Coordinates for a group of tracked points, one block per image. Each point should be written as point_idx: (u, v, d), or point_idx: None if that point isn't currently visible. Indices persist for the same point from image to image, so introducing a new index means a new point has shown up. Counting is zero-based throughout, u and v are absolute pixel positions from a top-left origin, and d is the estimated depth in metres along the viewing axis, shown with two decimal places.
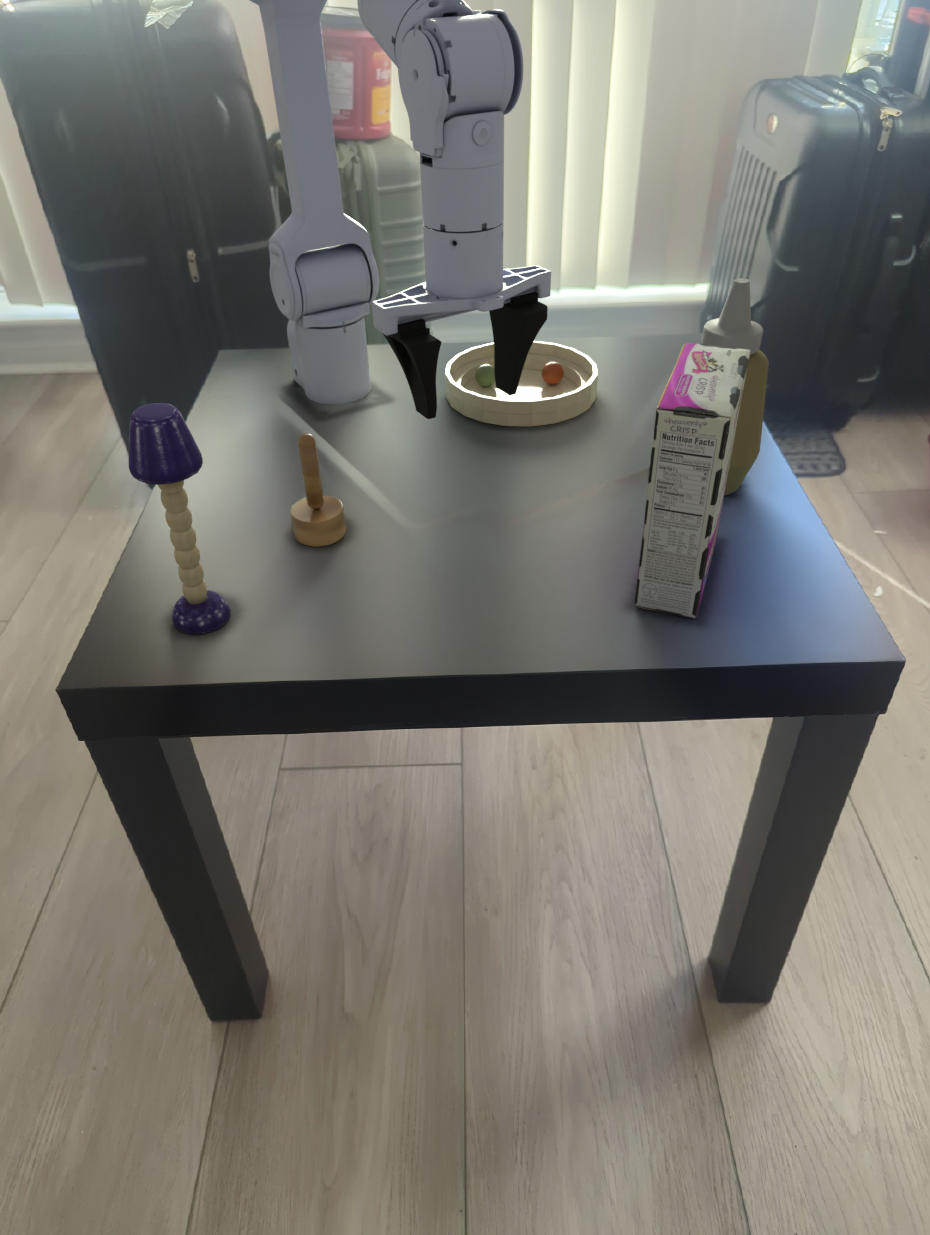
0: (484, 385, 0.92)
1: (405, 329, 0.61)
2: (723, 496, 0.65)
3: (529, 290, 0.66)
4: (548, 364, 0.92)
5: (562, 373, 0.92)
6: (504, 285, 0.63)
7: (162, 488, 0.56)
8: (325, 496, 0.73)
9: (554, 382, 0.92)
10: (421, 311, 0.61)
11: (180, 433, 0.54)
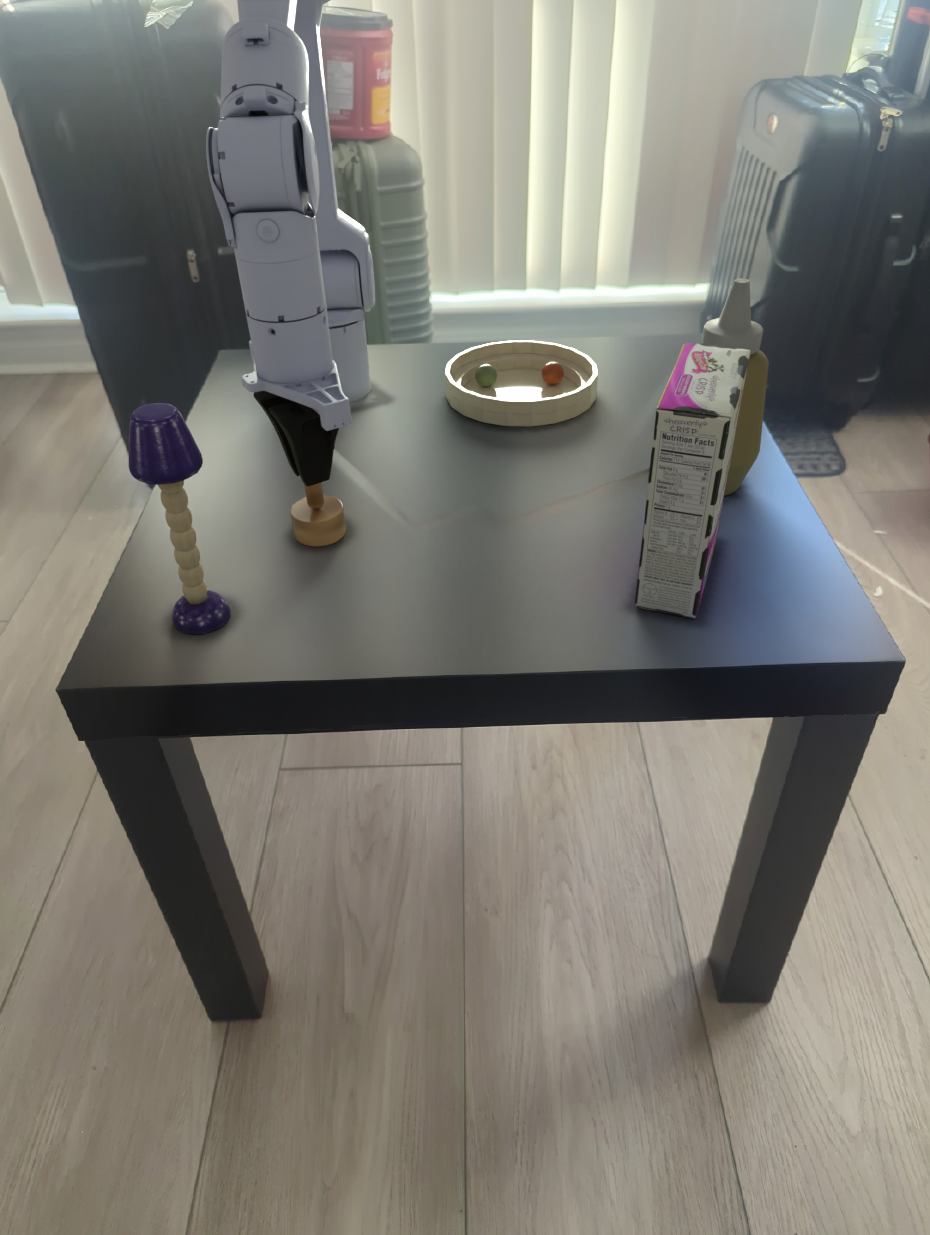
0: (484, 385, 0.92)
1: None
2: (723, 496, 0.65)
3: None
4: (548, 364, 0.92)
5: (562, 373, 0.92)
6: (286, 384, 0.61)
7: (162, 488, 0.56)
8: (325, 496, 0.73)
9: (554, 382, 0.92)
10: None
11: (180, 433, 0.54)
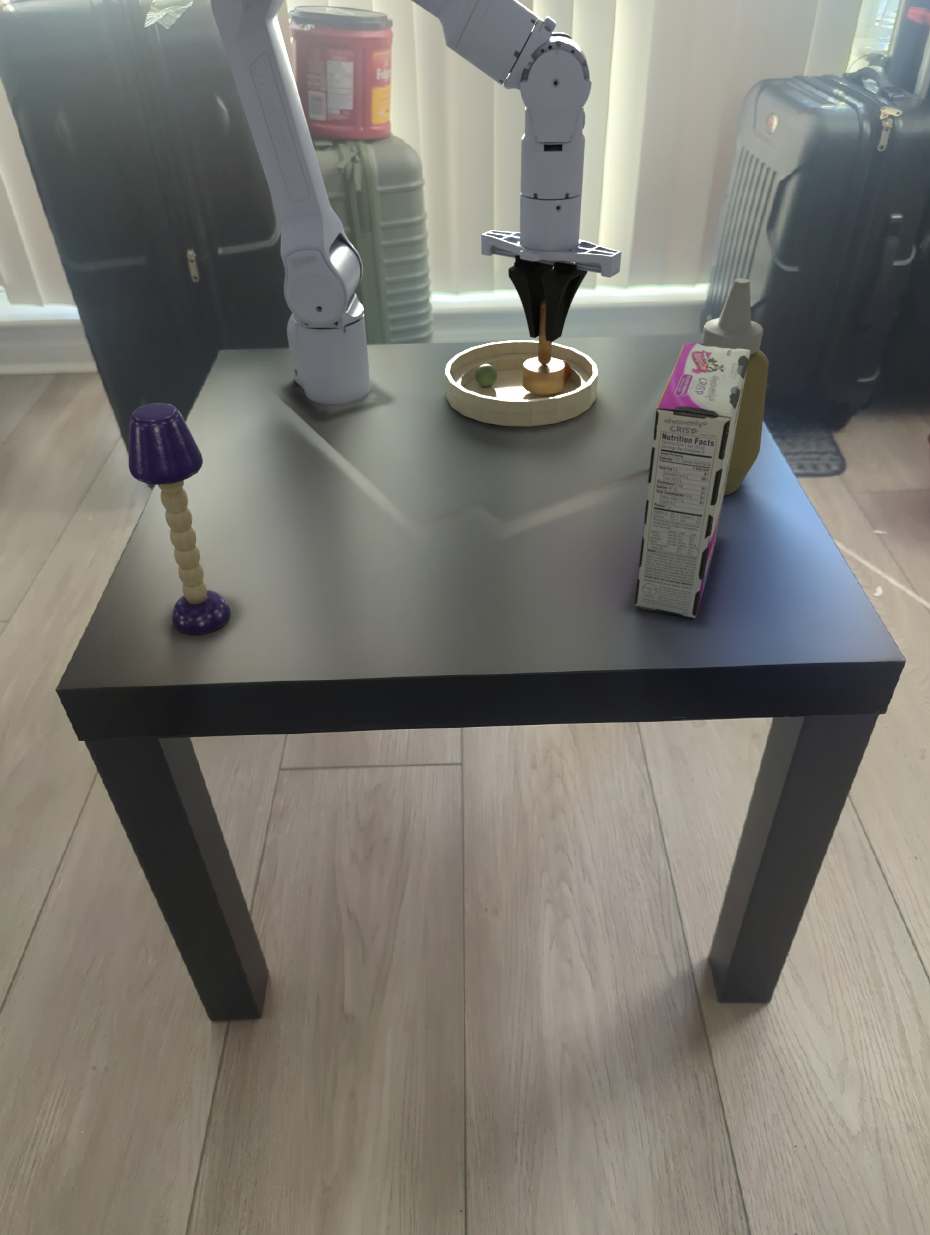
0: (484, 385, 0.92)
1: (520, 260, 0.84)
2: (723, 496, 0.65)
3: (599, 267, 0.80)
4: (562, 360, 0.93)
5: (569, 375, 0.93)
6: (562, 250, 0.80)
7: (162, 488, 0.56)
8: None
9: None
10: (500, 245, 0.84)
11: (180, 433, 0.54)
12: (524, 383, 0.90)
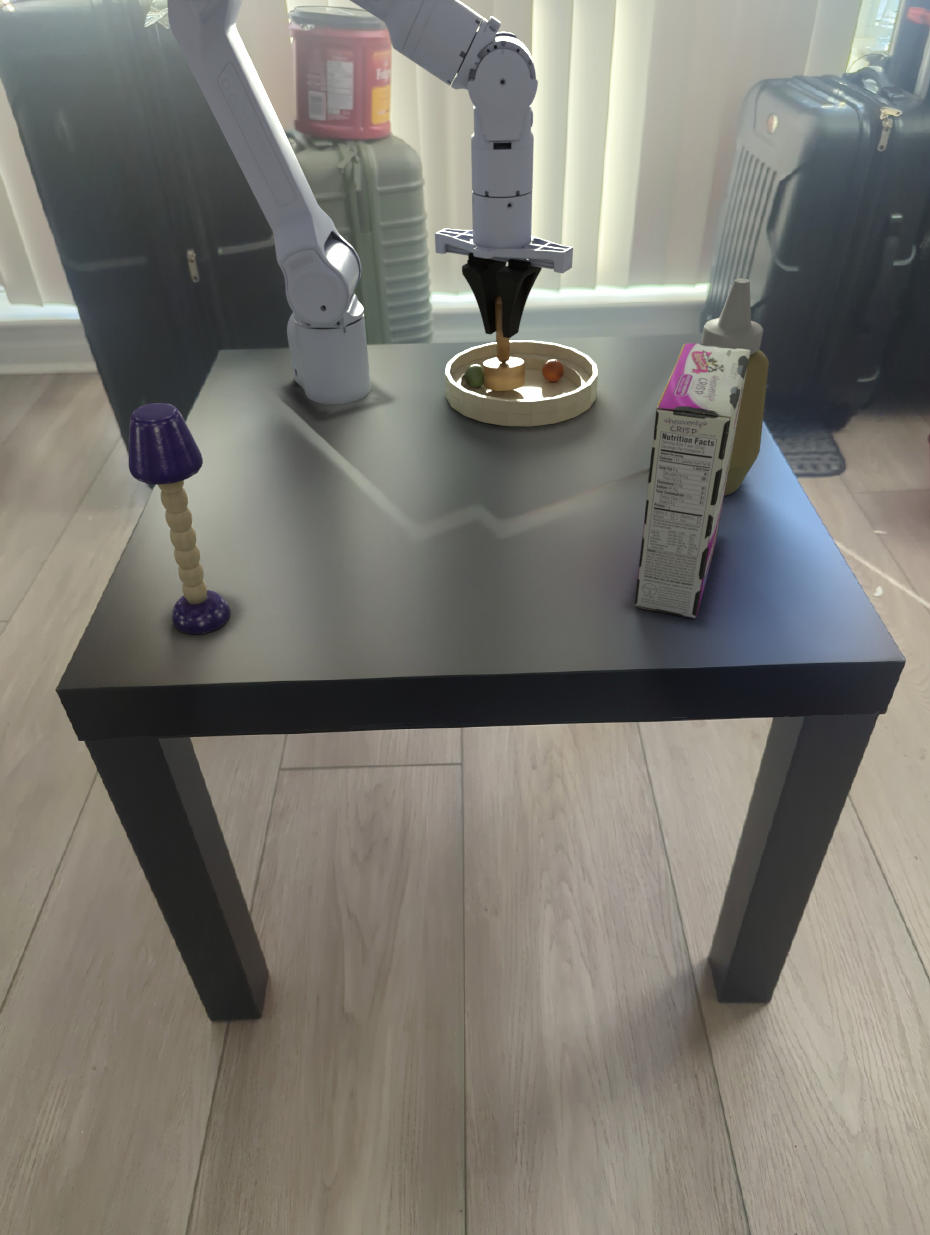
0: (479, 384, 0.92)
1: (473, 257, 0.85)
2: (723, 496, 0.65)
3: (552, 263, 0.81)
4: (551, 360, 0.93)
5: (561, 373, 0.93)
6: (515, 247, 0.81)
7: (162, 488, 0.56)
8: None
9: (550, 377, 0.93)
10: (453, 243, 0.84)
11: (180, 433, 0.54)
12: None
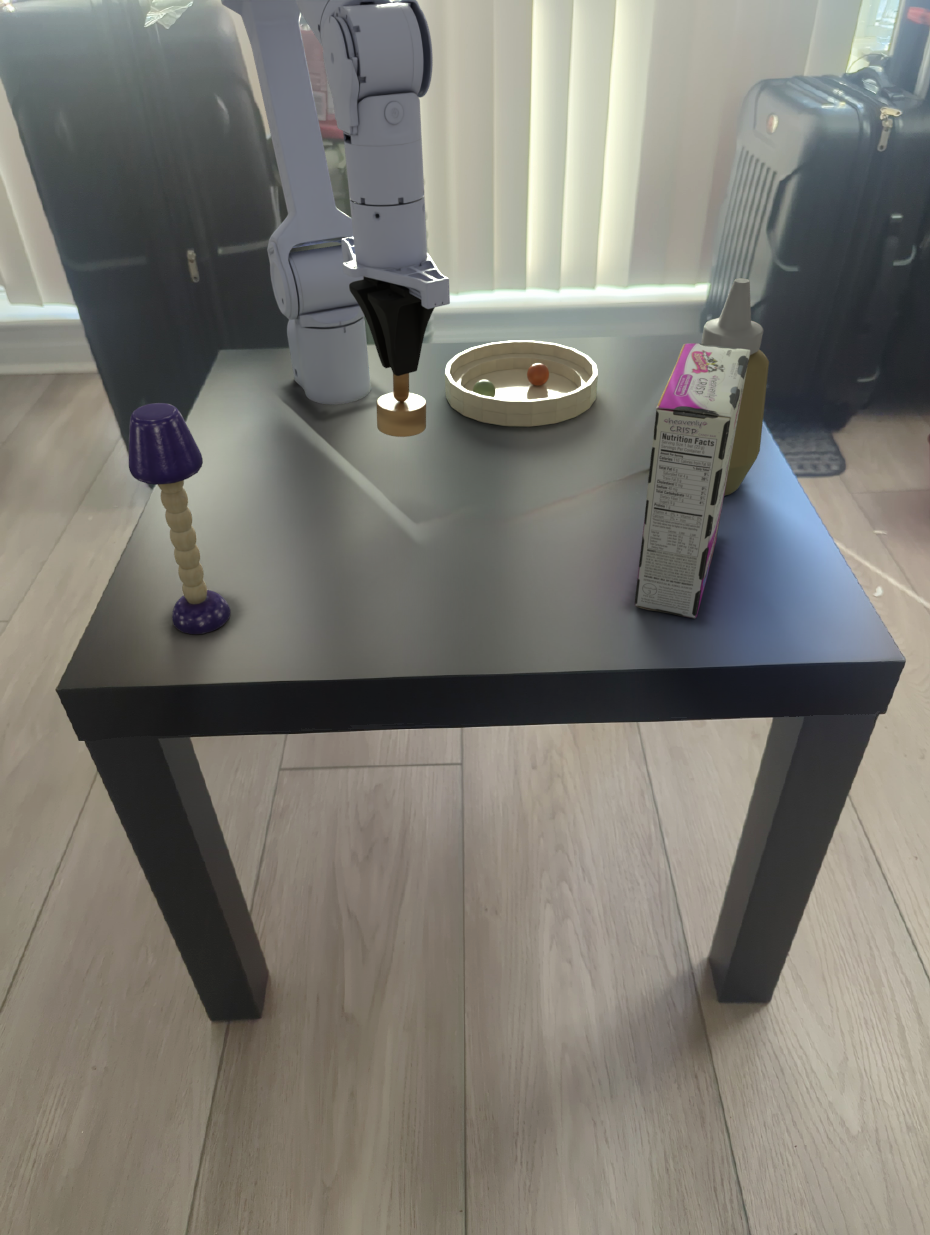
0: None
1: None
2: (723, 496, 0.65)
3: None
4: (528, 377, 0.92)
5: (543, 375, 0.92)
6: (387, 268, 0.66)
7: (162, 488, 0.56)
8: (419, 396, 0.76)
9: (544, 383, 0.93)
10: (349, 254, 0.71)
11: (180, 433, 0.54)
12: None
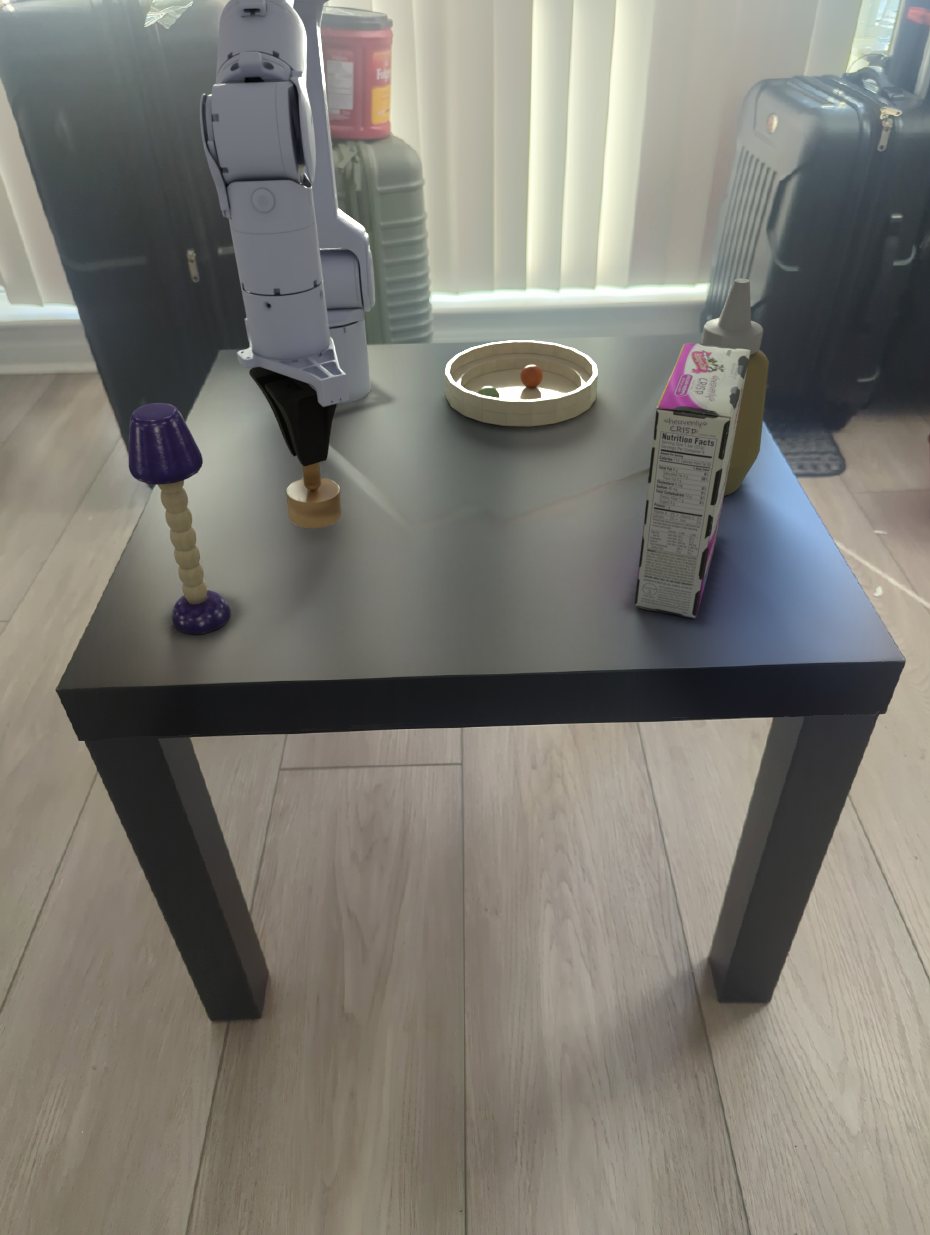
0: (490, 391, 0.87)
1: None
2: (723, 496, 0.65)
3: None
4: (524, 384, 0.93)
5: (535, 378, 0.91)
6: (283, 360, 0.60)
7: (162, 488, 0.56)
8: (333, 483, 0.71)
9: (541, 380, 0.92)
10: None
11: (180, 433, 0.54)
12: None
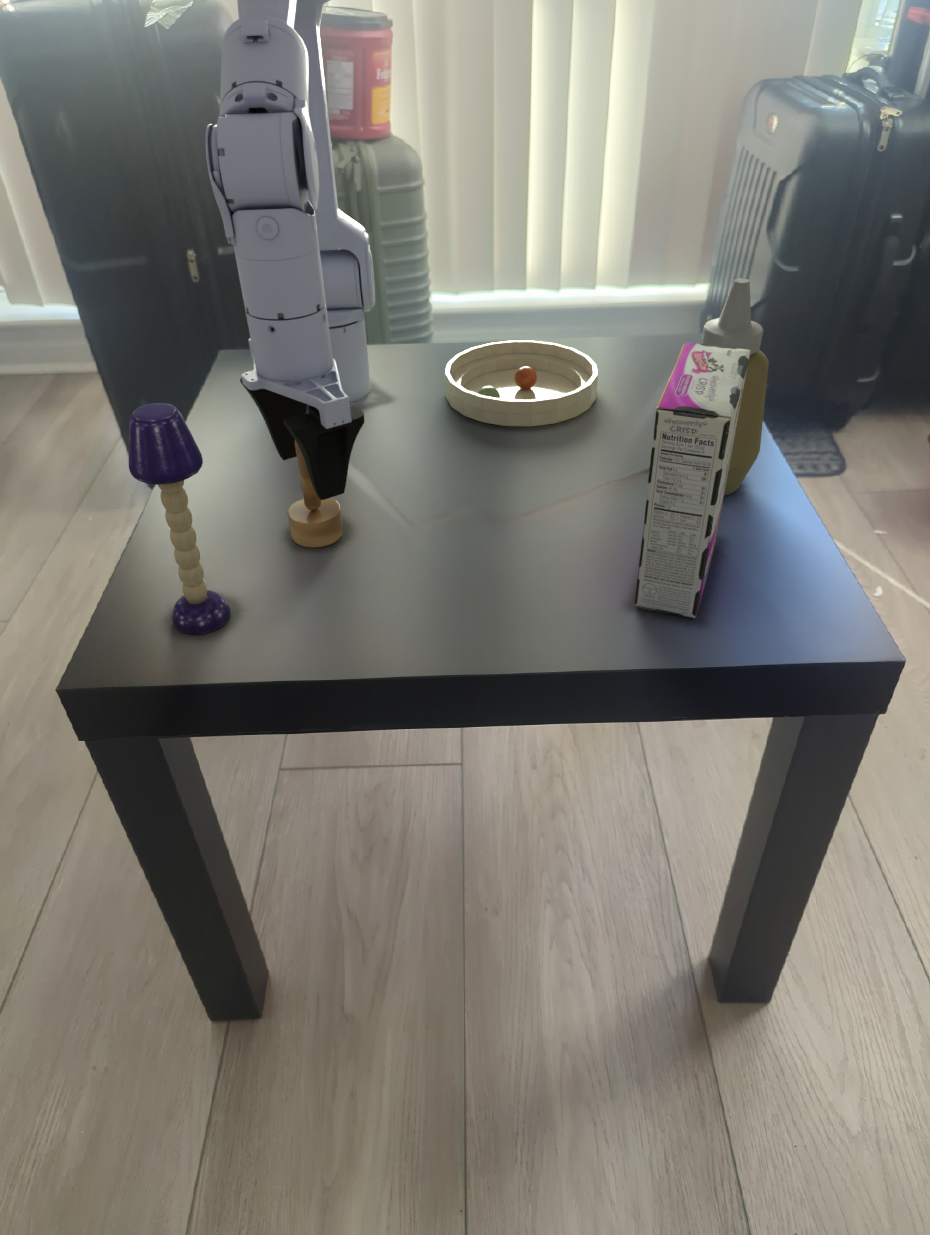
0: (490, 390, 0.87)
1: None
2: (723, 496, 0.65)
3: None
4: None
5: (528, 381, 0.91)
6: (286, 382, 0.61)
7: (162, 488, 0.56)
8: (334, 501, 0.72)
9: (536, 376, 0.92)
10: None
11: (180, 433, 0.54)
12: None
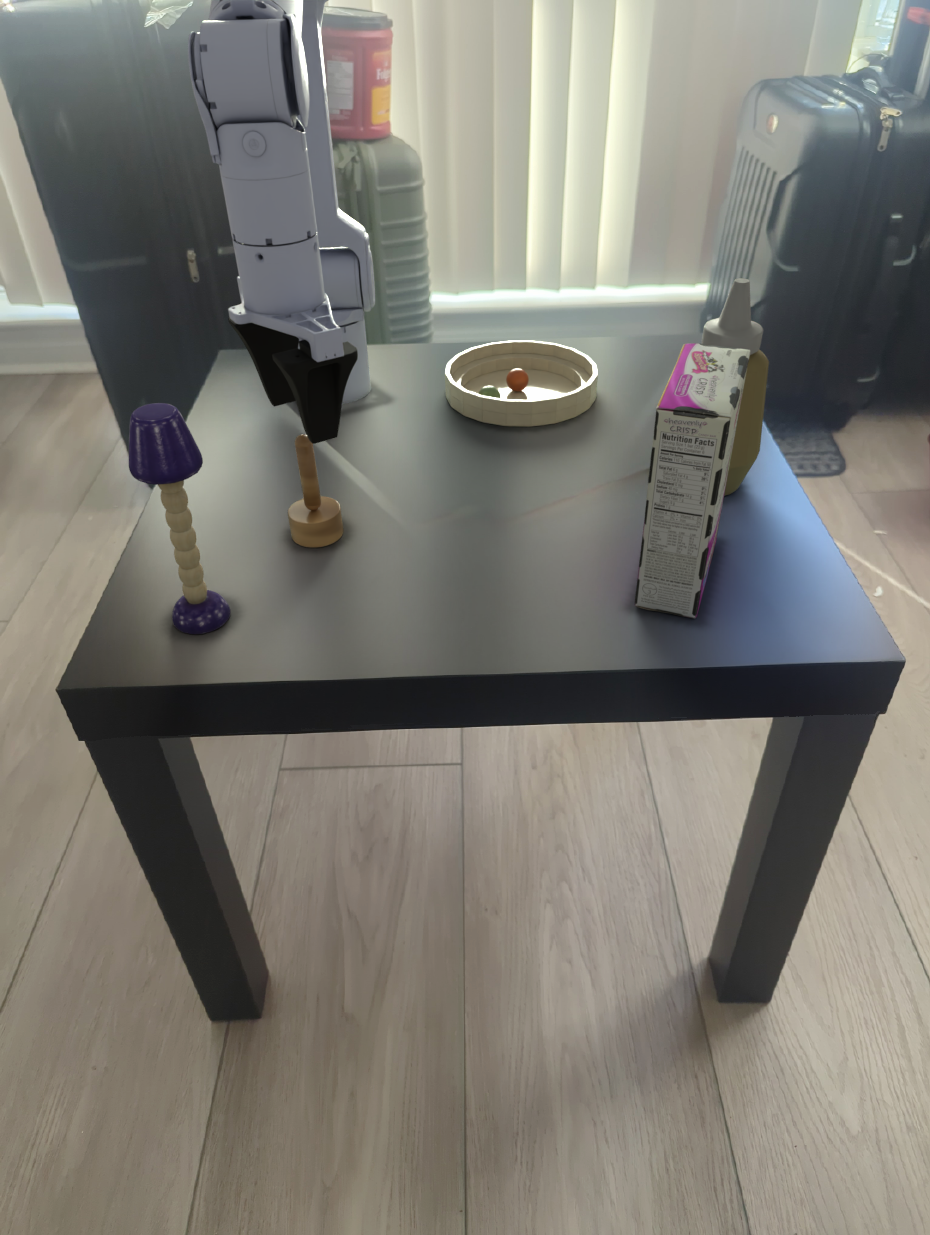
0: (491, 389, 0.87)
1: None
2: (723, 496, 0.65)
3: None
4: None
5: (521, 386, 0.91)
6: (275, 315, 0.58)
7: (162, 488, 0.56)
8: (334, 501, 0.72)
9: (524, 374, 0.91)
10: None
11: (180, 433, 0.54)
12: None
